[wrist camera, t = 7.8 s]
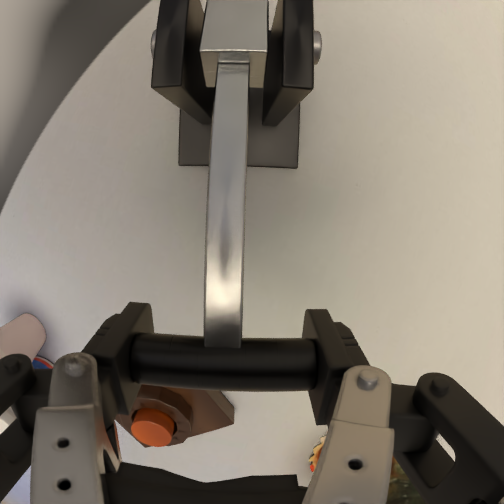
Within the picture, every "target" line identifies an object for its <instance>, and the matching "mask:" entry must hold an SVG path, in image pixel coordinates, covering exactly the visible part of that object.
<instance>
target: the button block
mask: <svg viewBox="0 0 504 504" xmlns="http://www.w3.org/2000/svg"><path fill="white" fill-rule="evenodd" d="M142 408H152V409H158V410H160V411H162V412H164V413H166V414H168V415H169V416H170V417H171V418H172V419H173V421H174V425H175V426H174V431H173V435H172V440H171V442H170V443H169V444H168V445H166V446H171V445H175V444H180V443H183V442H184V441H185V440H186V439H187V438H188V437H192V436H196V435H199V434H203V433H206V432H210V431H213V430H216V429H220V428H223V427H226V426H229V425H232V424H234V407H233V406H232V405H231V404H230V403H229V401H228V400H227V399H226V398H225V397H224V395H223V394H222V393H221V392H220V391H217V390H199V389H185V388H173V387H163V386H154V385H145V384H142V385H141V387H140V390H139V392H138V395H137V397H136V399H135V402H134V404H133V407H132V409H131V412H130V414H129V416H128V415H122V414H117V415H116V417H115V420H116V421H117V422H118V423H119V424H120V425H121V426H122V427H123V428H124V429H125V430H127V431H128V432H129V433H130V434H131V435H132V436H133V437H134V438H135V439H136V440H137V441H138V442H139V443H141V444H142V445H143V446H144V447H145V448H146V447H151V446H150V445H147V444H144V443H142V442H141V441H139V440H138V439H137V438H136V437H135V436H134V435H133V434H132V431H131V426H132V423H133V420H134V418H135V415H136V413H137V411H138V410H140V409H142Z"/></svg>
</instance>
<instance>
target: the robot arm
mask: <svg viewBox="0 0 504 504" xmlns="http://www.w3.org/2000/svg"><path fill="white" fill-rule="evenodd" d="M139 332H146V333H154V327H153V318H152V309H151V305H150V304H149V303H138V302H129V303H128V305H127V306H126V307H125V309H124V310H123V311H122V313H121V314H115V315H113V316H111V317H110V318H108V319H106V320H105V322H104V323H103V324H102V325H101V327H100V329H98V331H97V332H96V334H95V335H94V336H93V337H92V338H91V340H90V341H89V342H88V344H87V345H86V346H85V348H84V349H83V350H82V352H76V353H70V354H67V355H64V356H62V357H61V358H59V359H58V360H57V361H56V362H55V364H54V366H53V368H48V369H34V367H33V364H32V362H31V359H30V358H29V357H28V356H27V355H24V354H18V353H17V354H10V355H7V356H5V357H3V358H1V359H0V416H1V415H2V414H3V413H4V412H5V411H6V410H7V409H8V408H9V407H10V406H11V408H12V410H13V412H14V414H15V416H16V419H15V420H14V421H13V422H12V423H11V424H10V425H9V426H8V427H7V428H6V429H5V430H4V431H3V432H2V433H1V434H0V502H1V501H2V500H3V499H4V497H5V496H6V495H7V494H8V493H9V491H10V490H11V489H12V488H13V486H14V485H15V484H16V483H17V481H18V480H19V479H20V478H21V477H22V475H23V474H24V473H25V472H26V470H27V469H28V468H29V467H30V466H31V481H30V504H386V501H387V495H388V488H389V481H390V474H391V465H392V456H394V458H395V459H396V461H397V462H398V464H399V465H400V467H401V468H402V470H403V471H404V472H405V474H406V475H407V477H408V478H409V480H410V481H411V483H412V484H413V486H414V487H415V488H416V490H417V491H418V493H419V494H420V496H421V497H422V499H423V500H424V502H425V503H426V504H504V426H503V425H502V424H501V423H500V422H499V421H498V420H497V419H496V418H495V417H493V416H492V415H491V414H490V413H489V412H488V411H487V410H486V409H485V408H484V407H483V406H482V405H481V404H480V403H479V402H478V401H477V400H476V399H474V398H473V397H472V396H471V395H470V394H469V393H468V392H467V391H466V390H465V389H464V388H463V387H462V386H461V385H459V384H458V383H457V382H456V381H455V380H454V379H453V378H451V377H449V376H447V375H445V374H441V373H427V374H424V375H422V376H421V377H420V378H419V380H418V383H417V385H416V386H408V385H398V384H393V383H391V379H390V377H389V375H388V374H387V373H386V372H384V371H383V370H381V369H379V368H376V367H373V366H370V364H369V362H368V361H367V359H366V357H365V355H364V353H363V351H362V350H361V348H360V346H358V342H357V341H356V339H355V337H354V335H353V333H352V332H351V330H350V329H349V328H348V327H347V326H345V325H344V324H342V323H341V322H333V320H332V318H331V316H330V314H329V312H328V310H327V309H306V311H305V316H304V324H303V332H302V338H312V339H313V340H314V341H315V344H316V348H317V354H318V375H317V381H316V385H315V387H314V389H313V390H310V391H308V392H309V396H310V401H311V405H312V409H313V413H314V417H315V421H316V425H327V426H328V432H327V435H326V438H325V441H324V444H323V447H322V450H321V453H320V456H319V459H318V462H317V465H316V468H315V470H314V473H313V476H312V479H311V481H310V484H309V486H308V487H303V486H298V481H297V474H295V475H270V476H248V477H242V478H237V479H230V480H224V481H217V482H209V483H205V482H199V481H196V480H193V479H190V478H186V477H183V476H180V475H177V474H174V473H171V472H169V471H166V470H163V469H159V468H153V467H147V466H141V465H136V464H130V463H125V462H122V458H121V452H120V447H119V441H118V434H117V428H116V424H115V421H114V420H115V417H116V415H117V414H122V415H128V416H129V414H130V412H131V409H132V407H133V404H134V402H135V399H136V397H137V395H138V392H139V390H140V387H141V385H142V384H138V383H136V382H134V380H133V378H132V376H131V372H130V349H131V344H132V341H133V338H134V336H135V335H136V334H137V333H139ZM439 433H440V435H441V436H442V437H443V438H444V439H445V440H446V442H447V443H448V444H449V445H450V446H451V447H452V449H453V450H454V452H455V462H454V460H453V459H452V458H451V457H450V456H449V454H448V453H447V452H446V451H445V450H444V448H443V447H442V446H441V445H440V444H439V442H438V441H437V440H436V438H437V436H438V435H439Z"/></svg>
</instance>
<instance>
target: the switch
mask: <svg viewBox="0 0 504 504" xmlns="http://www.w3.org/2000/svg"><path fill="white" fill-rule="evenodd" d="M268 52H269V1H268V0H207V2H206V8H205V13H204V19H203V25H202V31H201V37H200V44H199V56H200V61H201V66H202V71H203V76H204V81H205V86H206V87H215V91H214V102H213V114H212V127H211V141H210V156H209V172H208V190H207V211H206V236H205V269H204V336H187V335H172V334H158V333H146V332H139V333H137V334H136V335H135V336H134V338H133V341H132V344H131V349H130V372H131V376H132V378H133V380H134V382H136V383H138V384H145V385H154V386H163V387H173V388H185V389H199V390H217V391H249V392H279V391H310V390H313V389H314V387H315V385H316V381H317V375H318V354H317V348H316V344H315V341H314V340H313V339H312V338H242V318H243V277H244V240H245V205H246V172H247V142H248V113H249V87H252V88H263V87H264V83H265V75H266V67H267V60H268Z"/></svg>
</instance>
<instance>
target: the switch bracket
mask: <svg viewBox="0 0 504 504" xmlns="http://www.w3.org/2000/svg"><path fill="white" fill-rule="evenodd" d="M203 19H204V12H203V9H202V5H201V2H200V0H161V1H160V7H159V14H158V22H157V29H156V30H154V32H153V34H152V38H151V53H152V57H153V67H152V79H151V88H152V89H154V90H155V91H156V92H158V93H159V94H161V95H162V96H164V97H165V98H166V99H168V100H169V101H171V102H172V103H173V104H175V105H176V106H177V107H179V108H180V124H179V161H178V165H179V166H209V156H210V141H211V127H212V114H213V102H214V91H215V87H206V86H205V81H204V76H203V71H202V66H201V61H200V56H199V44H200V37H201V31H202V25H203ZM321 47H322V40H321V34H320V32H319V31H314V14H313V0H278V2H277V7H276V12H275V16H274V21H273V25H272V30H271V31H270V30H269V52H268V60H267V67H266V75H265V83H264V87H263V88H252V87H249V113H248V142H247V166H248V167H274V168H293V169H297V168H298V150H299V124H300V102H301V101H302V100H303V99H304V98H305V97H306V96H307V95H308V94H309V93H310V92H311V91H312V90H313V88H314V65H316V64H318V62H319V59H320V55H321Z"/></svg>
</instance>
